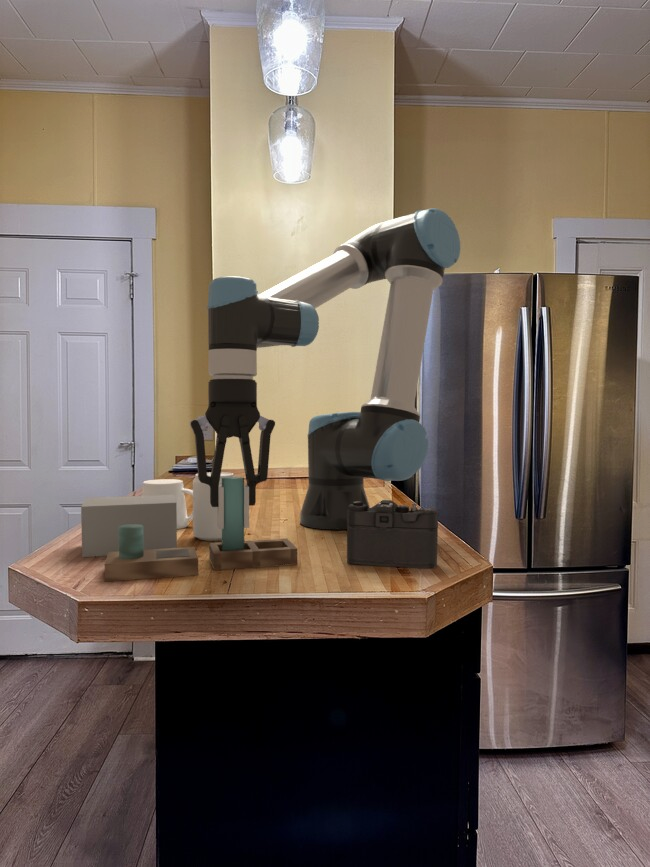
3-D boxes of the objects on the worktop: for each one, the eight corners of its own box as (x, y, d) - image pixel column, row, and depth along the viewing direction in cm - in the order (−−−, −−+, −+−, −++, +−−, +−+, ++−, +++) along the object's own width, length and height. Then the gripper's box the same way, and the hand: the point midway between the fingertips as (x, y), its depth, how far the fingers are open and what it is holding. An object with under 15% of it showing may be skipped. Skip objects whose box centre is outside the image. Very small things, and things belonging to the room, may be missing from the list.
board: (194, 562, 99) (194, 518, 99) (198, 574, 92) (197, 527, 92) (108, 568, 96) (107, 522, 96) (105, 581, 89) (104, 532, 88)
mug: (133, 483, 125) (146, 478, 132) (133, 530, 125) (147, 522, 133) (192, 484, 124) (202, 479, 132) (193, 530, 124) (203, 523, 132)
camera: (437, 553, 106) (437, 495, 105) (437, 570, 95) (438, 505, 94) (353, 550, 108) (353, 493, 108) (344, 566, 97) (344, 503, 97)
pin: (242, 550, 101) (242, 476, 101) (245, 555, 98) (245, 479, 97) (220, 551, 100) (220, 477, 100) (223, 556, 97) (222, 479, 96)
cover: (174, 539, 116) (174, 494, 116) (176, 551, 107) (176, 502, 106) (87, 544, 112) (87, 497, 112) (82, 557, 103) (81, 506, 102)
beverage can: (227, 542, 113) (227, 477, 113) (186, 540, 115) (185, 476, 115) (242, 533, 121) (242, 472, 121) (203, 532, 123) (202, 471, 122)
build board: (287, 553, 105) (287, 538, 105) (297, 564, 98) (297, 548, 98) (209, 558, 102) (209, 543, 102) (213, 570, 95) (213, 553, 95)
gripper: (279, 380, 104) (278, 520, 105) (178, 378, 99) (179, 524, 100) (288, 378, 96) (288, 528, 98) (180, 376, 92) (181, 534, 93)
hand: (233, 526), depth 99 cm, fingers closed on pin, 3 cm apart
